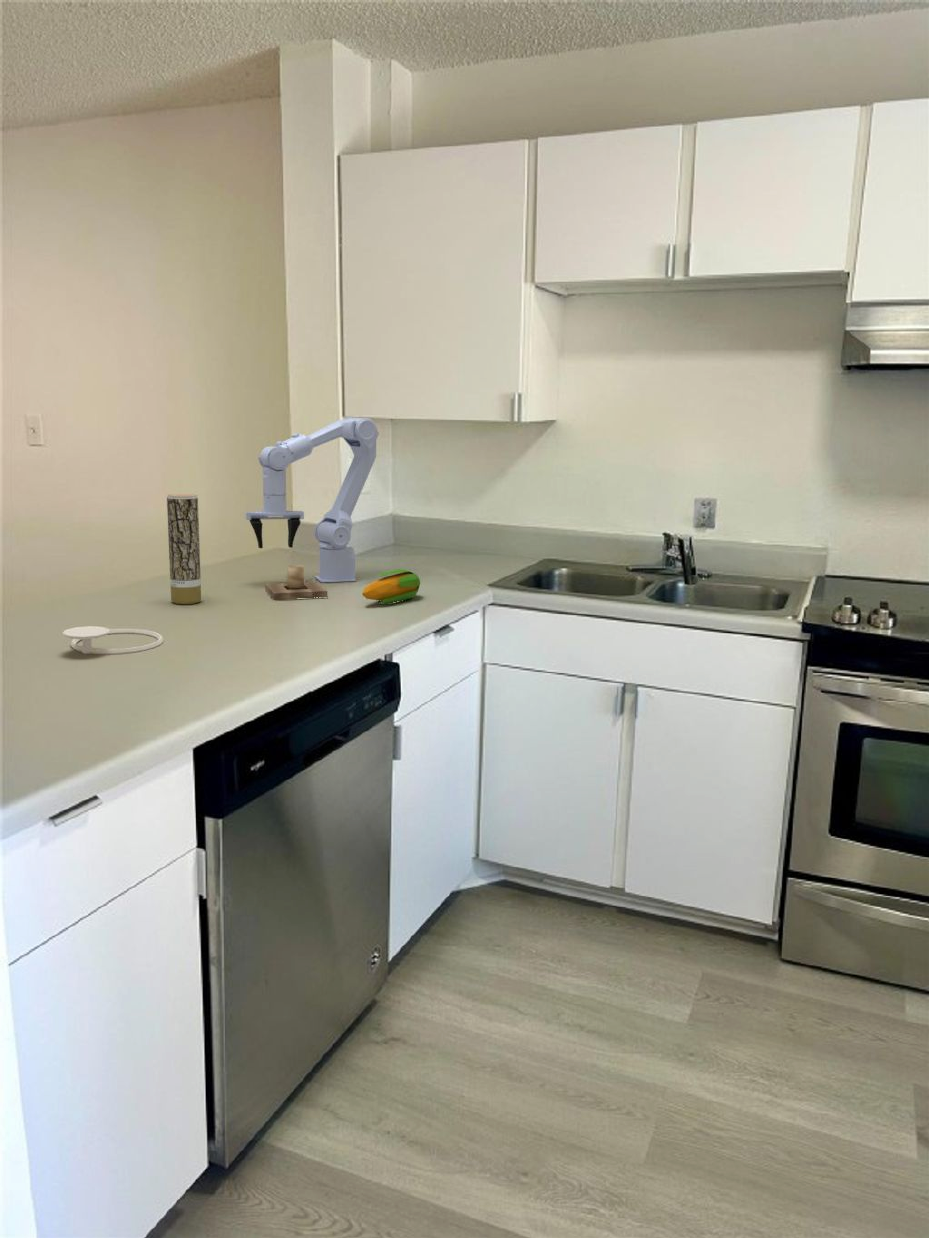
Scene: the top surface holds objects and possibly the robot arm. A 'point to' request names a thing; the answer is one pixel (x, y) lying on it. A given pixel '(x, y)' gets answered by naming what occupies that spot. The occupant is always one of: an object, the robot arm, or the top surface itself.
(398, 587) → the corn
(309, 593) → the board
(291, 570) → the peg
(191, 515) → the paper tube
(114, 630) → the hand towel holder
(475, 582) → the top surface
